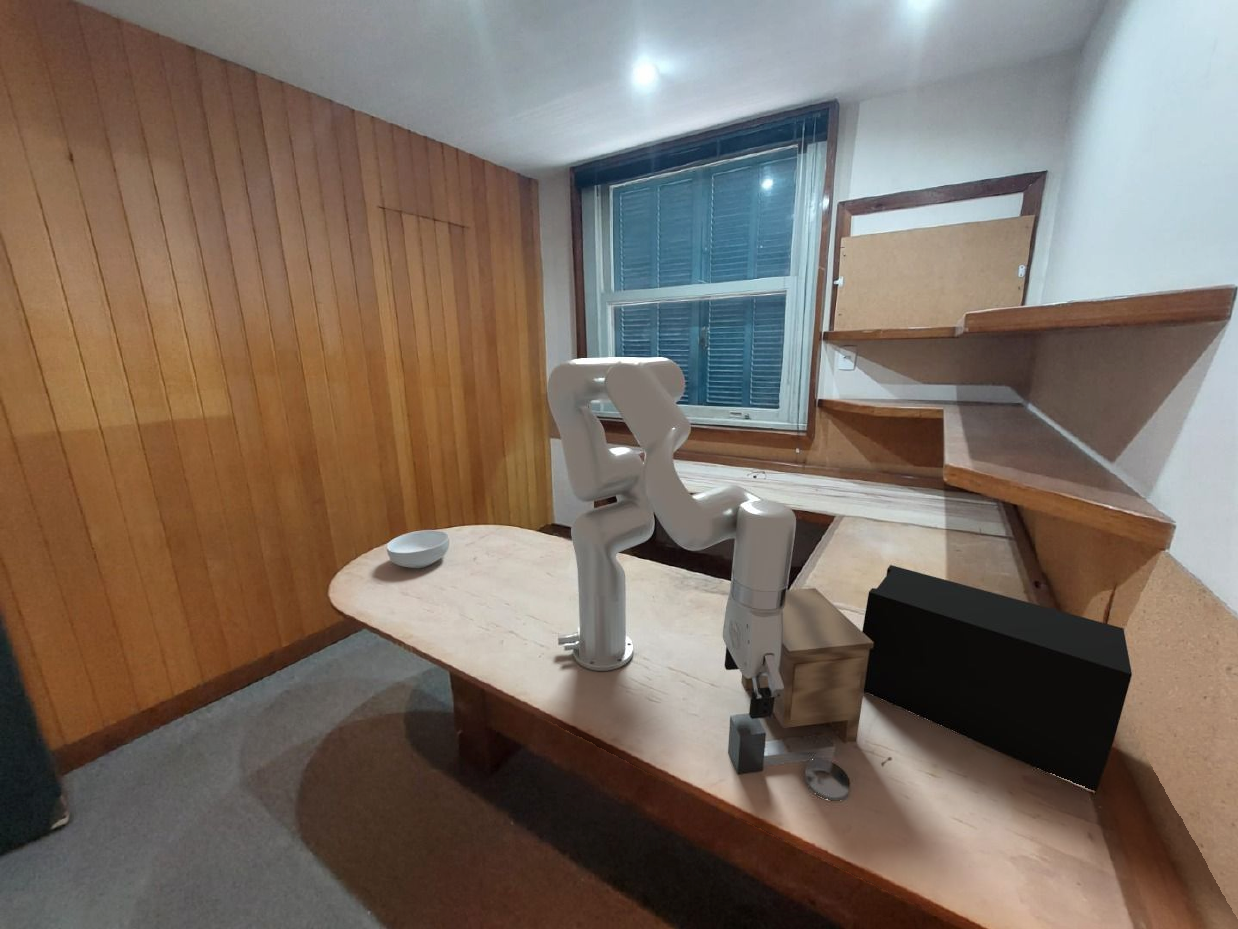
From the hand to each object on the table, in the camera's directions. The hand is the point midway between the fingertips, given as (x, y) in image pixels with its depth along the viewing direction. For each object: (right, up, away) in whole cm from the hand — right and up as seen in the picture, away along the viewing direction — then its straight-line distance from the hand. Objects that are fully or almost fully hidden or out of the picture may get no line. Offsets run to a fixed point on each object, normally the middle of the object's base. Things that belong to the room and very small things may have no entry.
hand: (746, 690), depth 71 cm
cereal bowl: (-78, +5, +70) cm, 105 cm away
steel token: (+11, -13, -1) cm, 18 cm away
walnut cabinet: (+12, -9, +13) cm, 20 cm away
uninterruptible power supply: (+42, -10, +12) cm, 45 cm away
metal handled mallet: (+6, -12, +3) cm, 14 cm away
